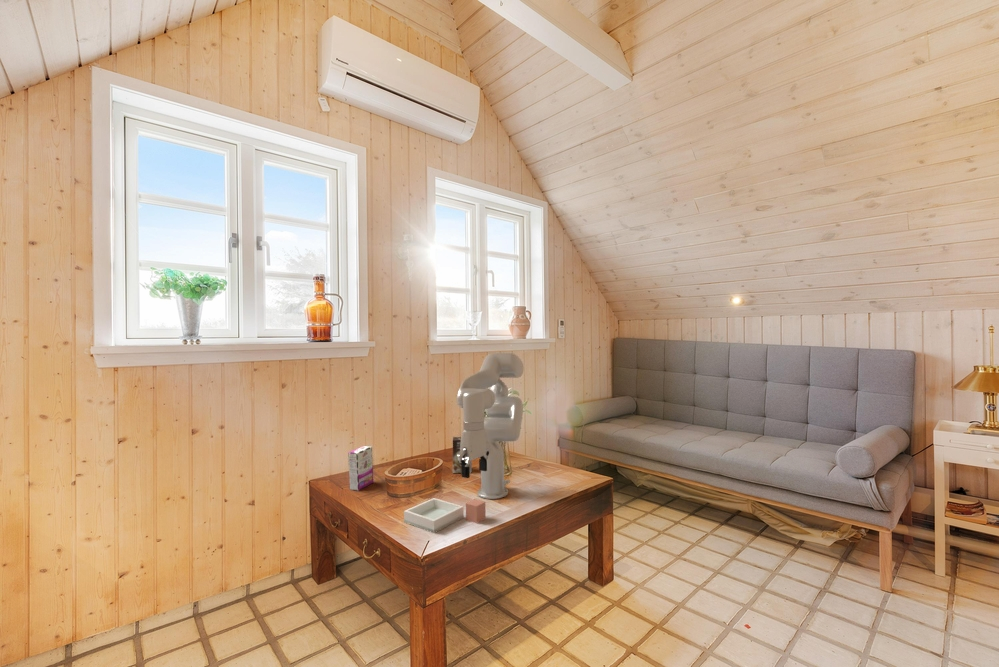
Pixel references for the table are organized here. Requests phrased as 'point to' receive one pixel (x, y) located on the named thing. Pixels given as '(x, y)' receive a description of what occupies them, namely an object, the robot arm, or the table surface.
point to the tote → (433, 514)
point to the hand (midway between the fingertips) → (474, 473)
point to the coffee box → (456, 451)
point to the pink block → (475, 511)
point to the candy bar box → (360, 468)
